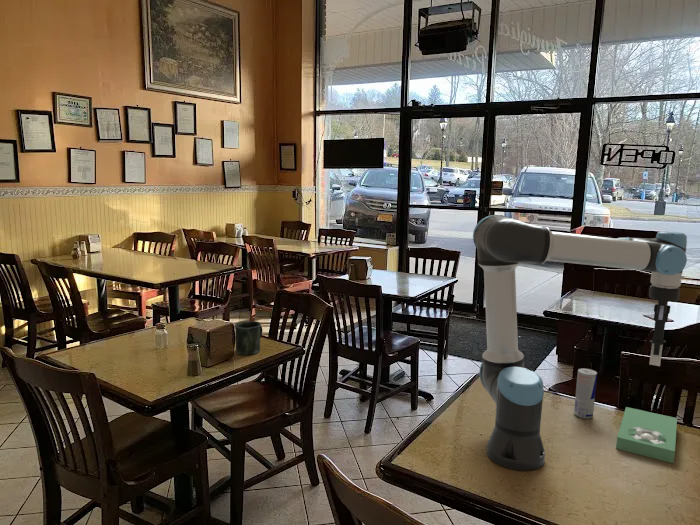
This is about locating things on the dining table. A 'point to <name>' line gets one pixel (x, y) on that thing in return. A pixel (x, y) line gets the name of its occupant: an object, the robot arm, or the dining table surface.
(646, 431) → the green
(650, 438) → the ball
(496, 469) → the dining table surface
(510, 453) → the robot arm
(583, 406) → the beverage can
